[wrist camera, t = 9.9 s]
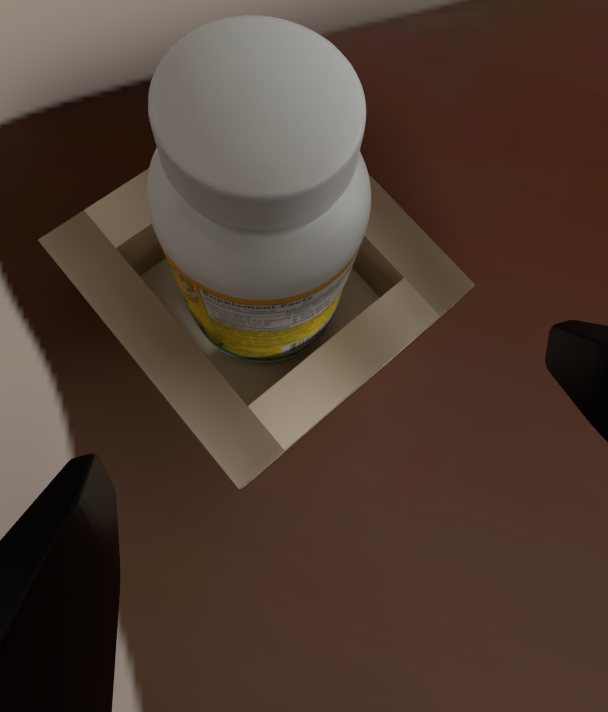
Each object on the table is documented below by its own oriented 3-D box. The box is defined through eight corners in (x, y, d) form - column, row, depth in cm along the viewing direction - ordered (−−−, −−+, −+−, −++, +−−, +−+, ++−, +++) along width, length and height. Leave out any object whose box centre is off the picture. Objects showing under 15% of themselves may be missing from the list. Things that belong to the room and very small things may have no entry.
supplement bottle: (325, 375, 17) (392, 258, 8) (176, 355, 17) (71, 211, 8) (341, 241, 19) (414, 9, 10) (203, 220, 19) (140, -36, 9)
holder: (243, 487, 17) (239, 489, 14) (76, 281, 18) (37, 239, 15) (440, 317, 19) (475, 285, 16) (278, 143, 21) (281, 82, 17)
